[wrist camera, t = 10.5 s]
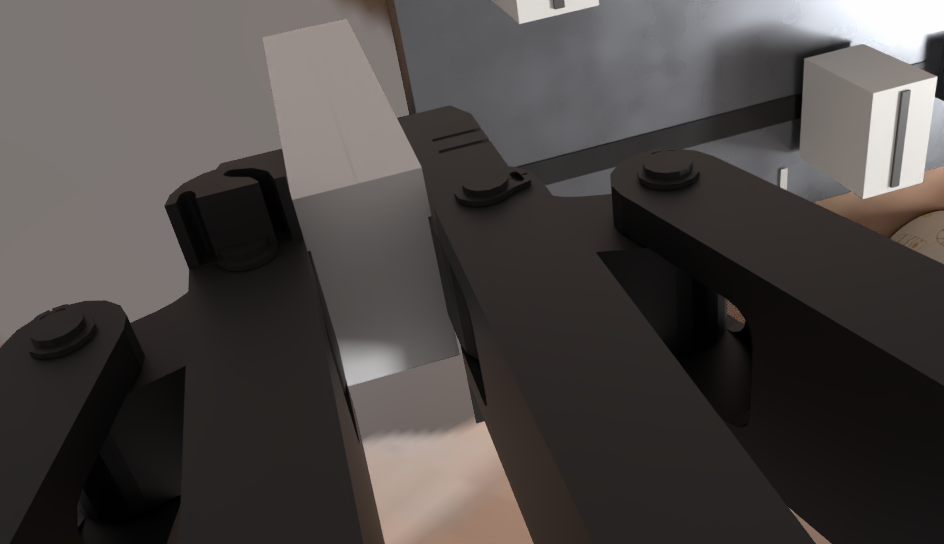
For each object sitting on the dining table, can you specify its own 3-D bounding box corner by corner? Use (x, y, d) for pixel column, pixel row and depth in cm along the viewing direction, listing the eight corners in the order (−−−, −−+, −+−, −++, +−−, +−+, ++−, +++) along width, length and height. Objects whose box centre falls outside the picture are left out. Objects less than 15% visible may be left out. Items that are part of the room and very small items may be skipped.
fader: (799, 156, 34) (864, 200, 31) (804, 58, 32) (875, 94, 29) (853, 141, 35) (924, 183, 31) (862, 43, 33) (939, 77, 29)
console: (442, 276, 36) (460, 316, 33) (340, -224, 26) (354, -222, 24) (920, 145, 39) (969, 172, 36) (987, -347, 29) (1060, -356, 27)
